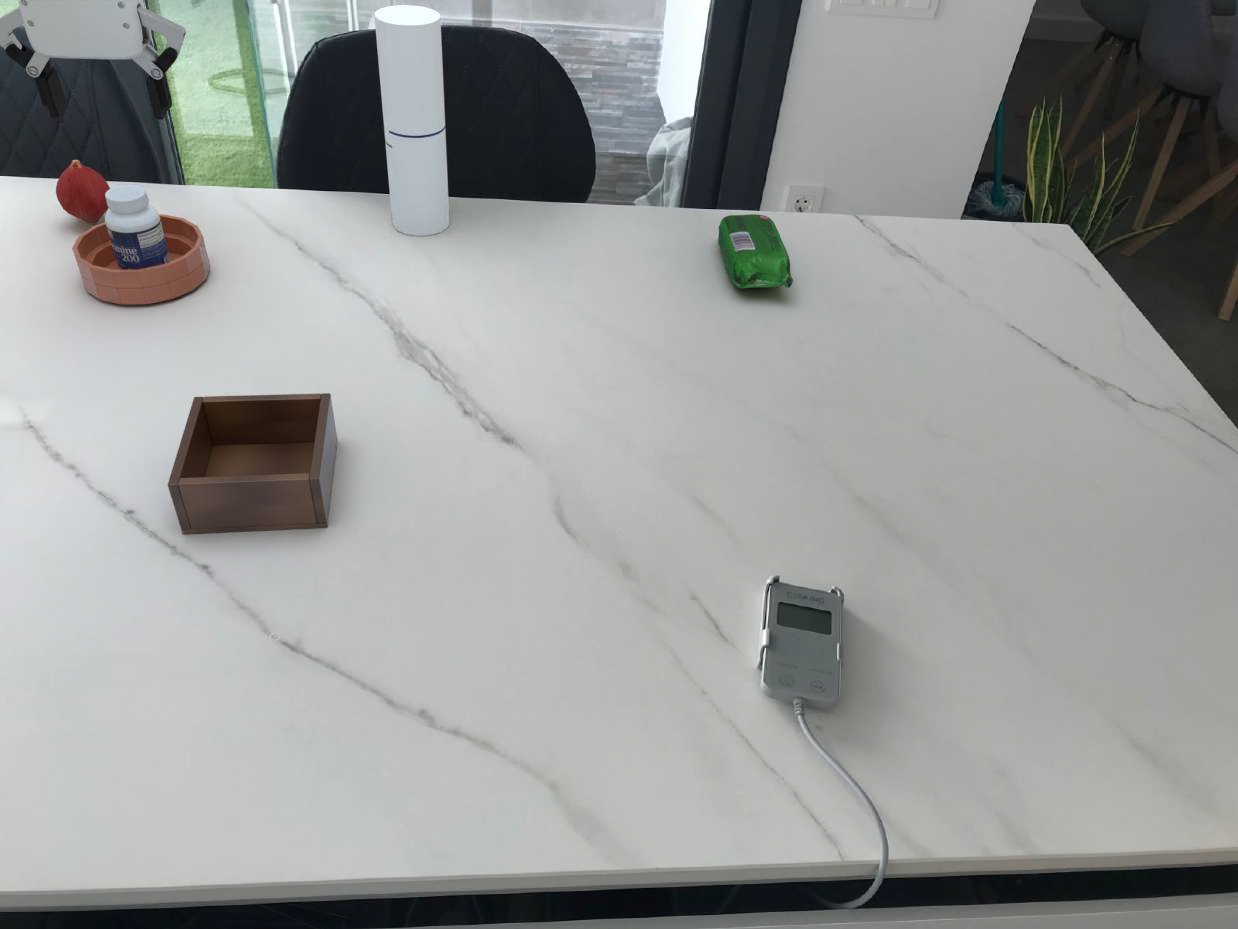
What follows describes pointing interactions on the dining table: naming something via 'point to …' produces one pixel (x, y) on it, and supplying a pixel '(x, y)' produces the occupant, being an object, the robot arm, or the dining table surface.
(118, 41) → the robot arm
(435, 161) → the cylindrical container
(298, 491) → the holder
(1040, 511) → the dining table surface
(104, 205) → the onion
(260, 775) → the dining table surface
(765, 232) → the snack package
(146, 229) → the pill bottle
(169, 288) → the bowl
